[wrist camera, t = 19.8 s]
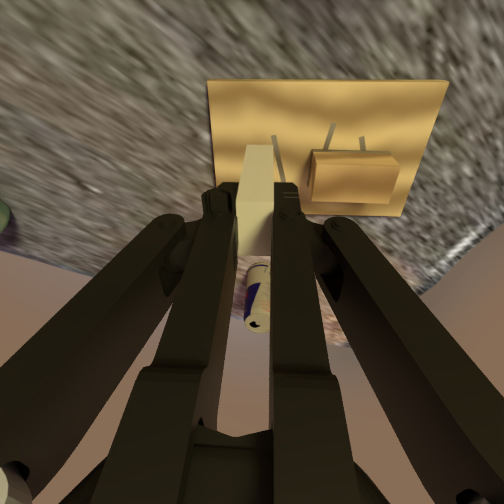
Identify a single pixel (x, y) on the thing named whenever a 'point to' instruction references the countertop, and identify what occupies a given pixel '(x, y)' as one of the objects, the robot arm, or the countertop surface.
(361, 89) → the board
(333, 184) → the block
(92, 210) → the countertop surface
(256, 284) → the energy drink
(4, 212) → the flower pot
